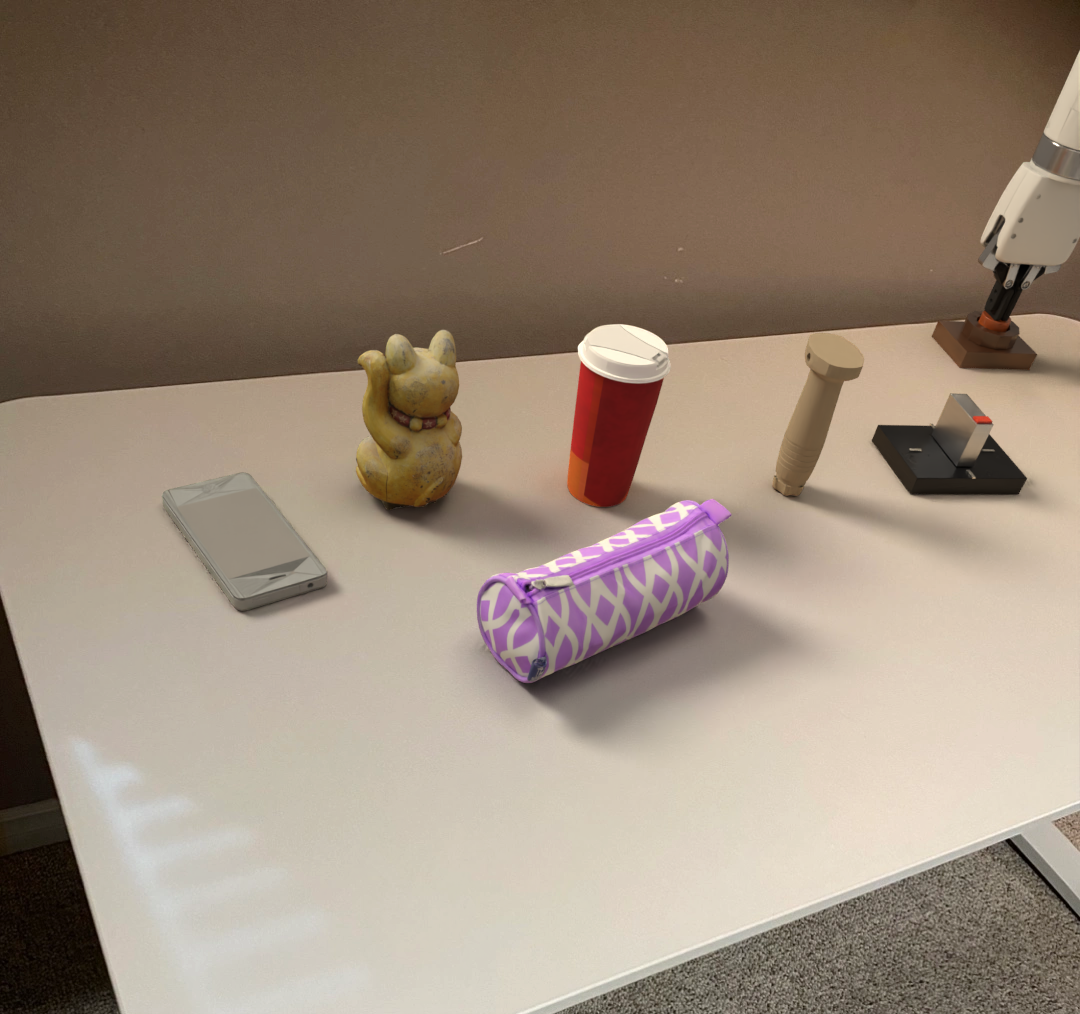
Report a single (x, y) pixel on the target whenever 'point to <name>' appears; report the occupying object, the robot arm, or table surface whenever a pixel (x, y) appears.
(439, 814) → the table surface
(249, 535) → the phone
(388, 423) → the decorative figurine
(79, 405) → the table surface
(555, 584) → the pencil case
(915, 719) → the table surface
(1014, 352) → the button block
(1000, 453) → the base
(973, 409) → the tap handle
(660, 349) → the coffee cup
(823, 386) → the handle
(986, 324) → the button
